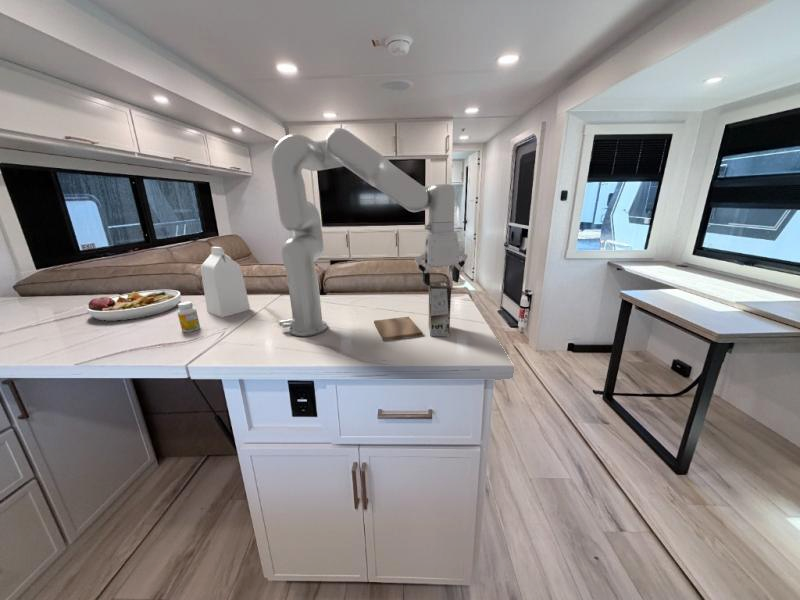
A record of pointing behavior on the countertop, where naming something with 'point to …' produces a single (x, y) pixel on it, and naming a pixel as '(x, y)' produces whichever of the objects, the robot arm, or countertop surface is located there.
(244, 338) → the countertop surface
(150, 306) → the plate of food
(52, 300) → the countertop surface
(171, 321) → the countertop surface
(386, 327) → the walnut board
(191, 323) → the supplement bottle
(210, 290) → the milk
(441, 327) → the coffee box
